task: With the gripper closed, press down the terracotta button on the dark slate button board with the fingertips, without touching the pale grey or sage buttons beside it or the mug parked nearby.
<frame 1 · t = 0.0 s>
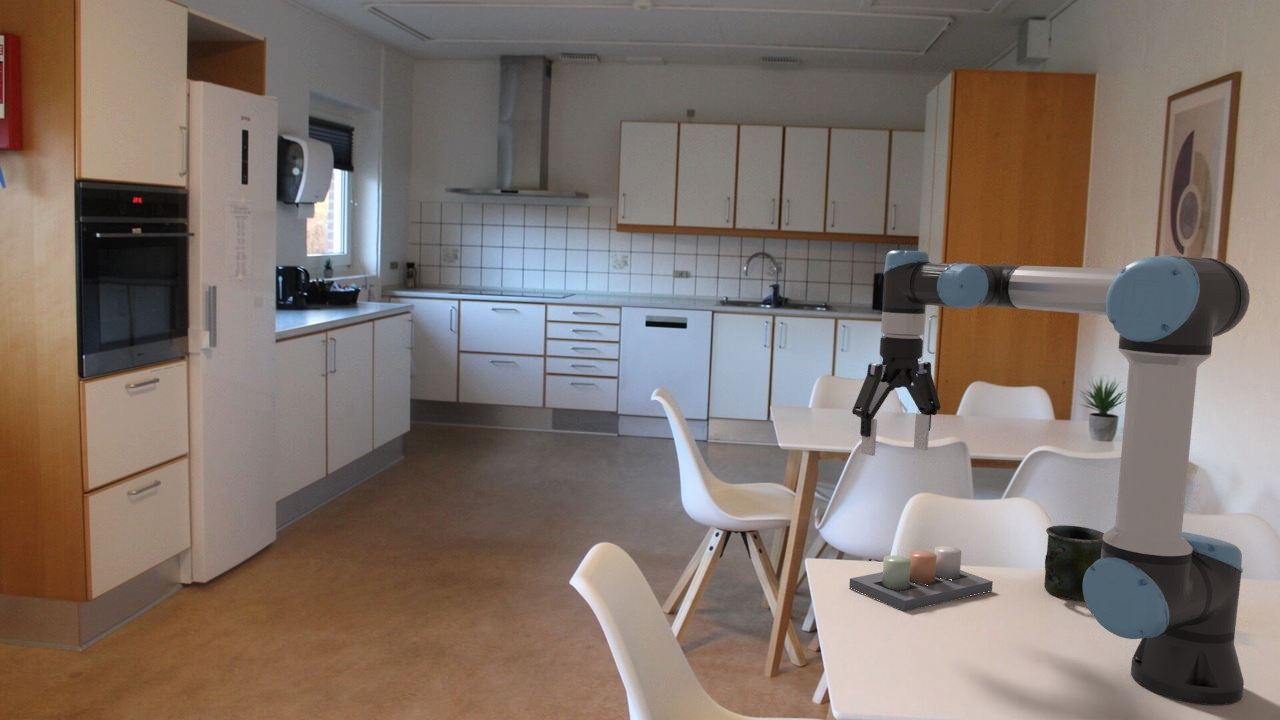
hand: (894, 451, 187), 28 cm above the table, fingers open, 13 cm apart
sage button: (896, 572, 192), point 4 cm above the table, slide at 0.0 cm
terracotta button: (922, 567, 196), point 5 cm above the table, slide at 0.0 cm
button board: (920, 590, 196), on the table
mug: (1067, 595, 197), on the table
grey button: (947, 562, 199), point 5 cm above the table, slide at 0.0 cm
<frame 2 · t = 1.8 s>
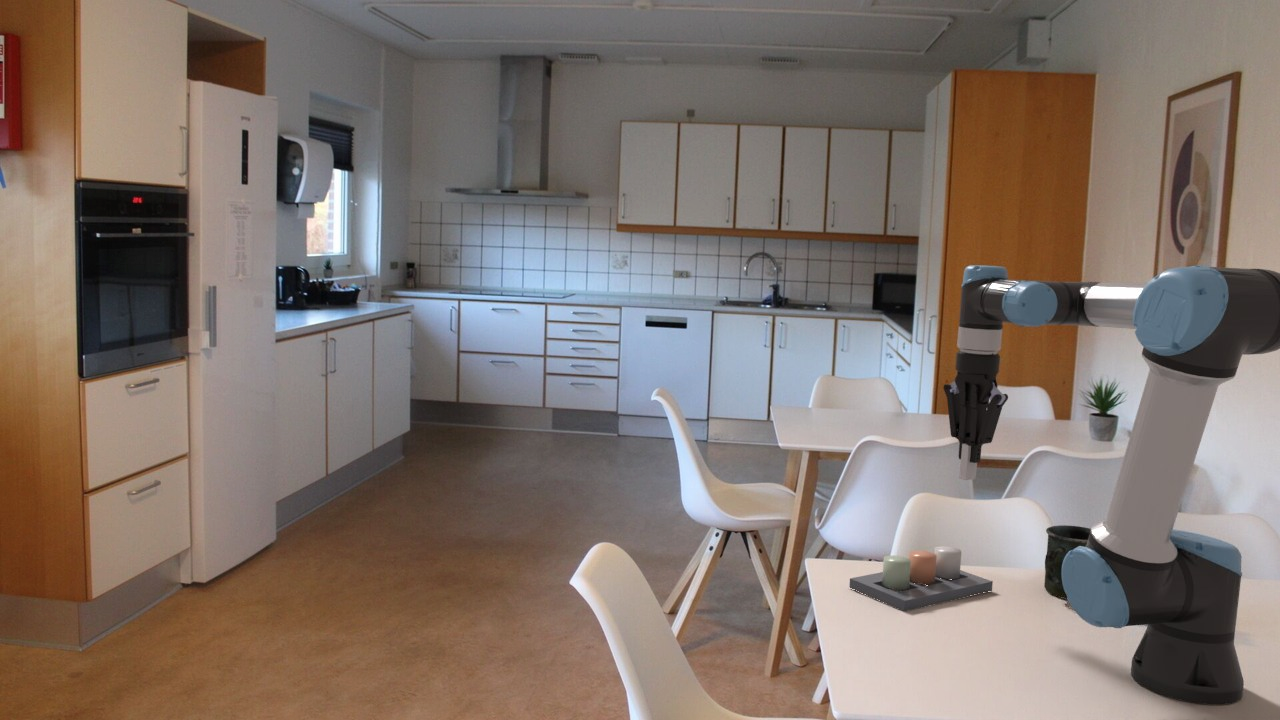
hand: (967, 478, 187), 24 cm above the table, fingers closed
nothing on the table moved.
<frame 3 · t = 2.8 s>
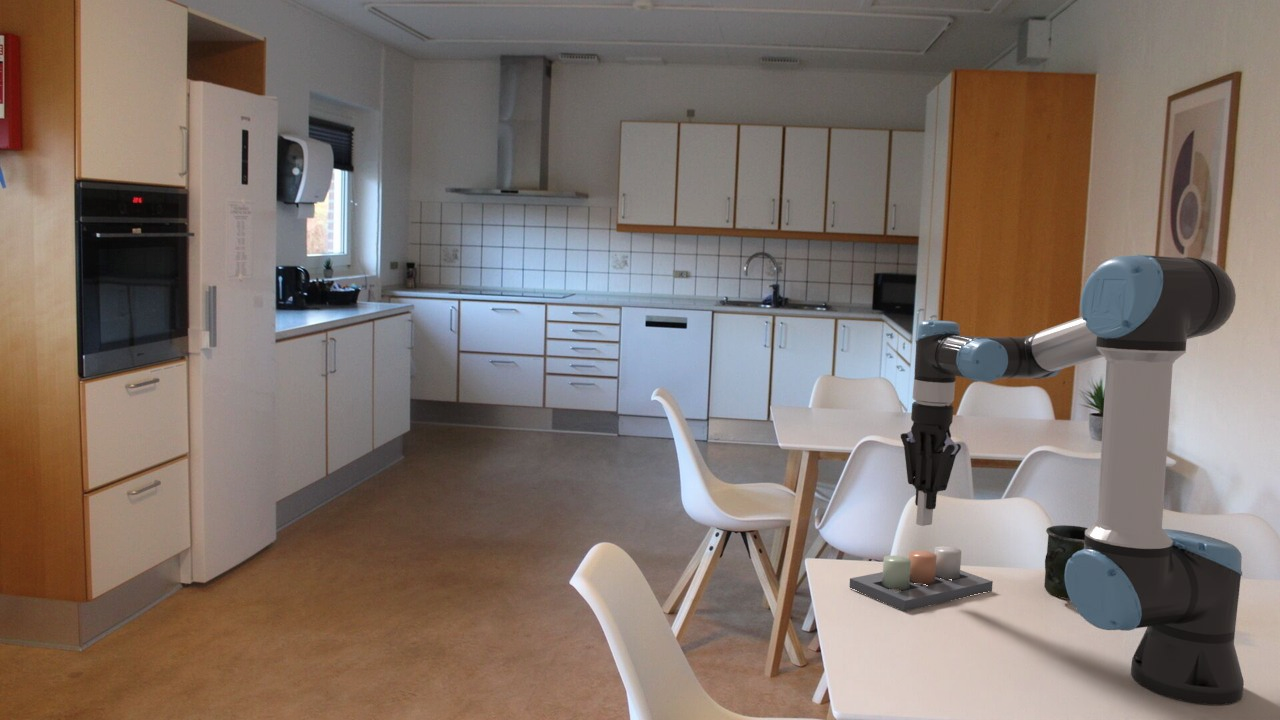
hand: (924, 524, 195), 13 cm above the table, fingers closed
nothing on the table moved.
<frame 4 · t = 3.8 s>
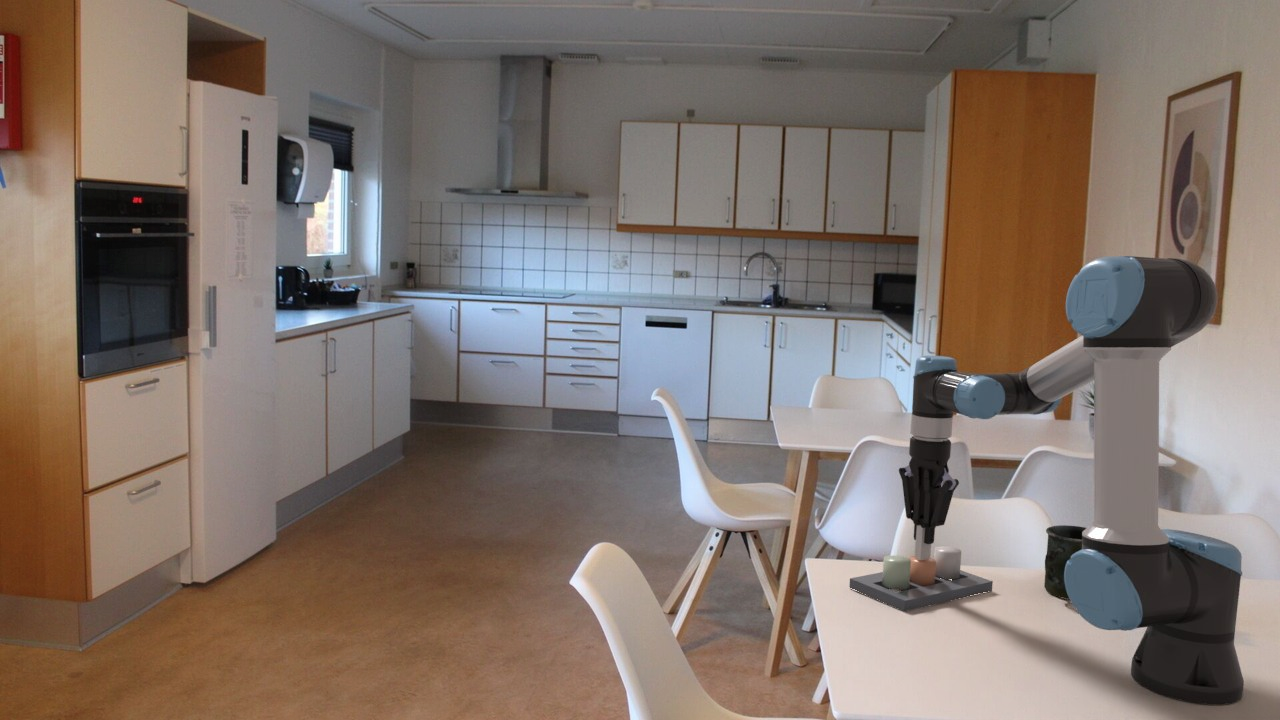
hand: (922, 558, 196), 6 cm above the table, fingers closed
terracotta button: (921, 572, 196), point 3 cm above the table, slide at 1.1 cm, touching gripper
everything else where it was.
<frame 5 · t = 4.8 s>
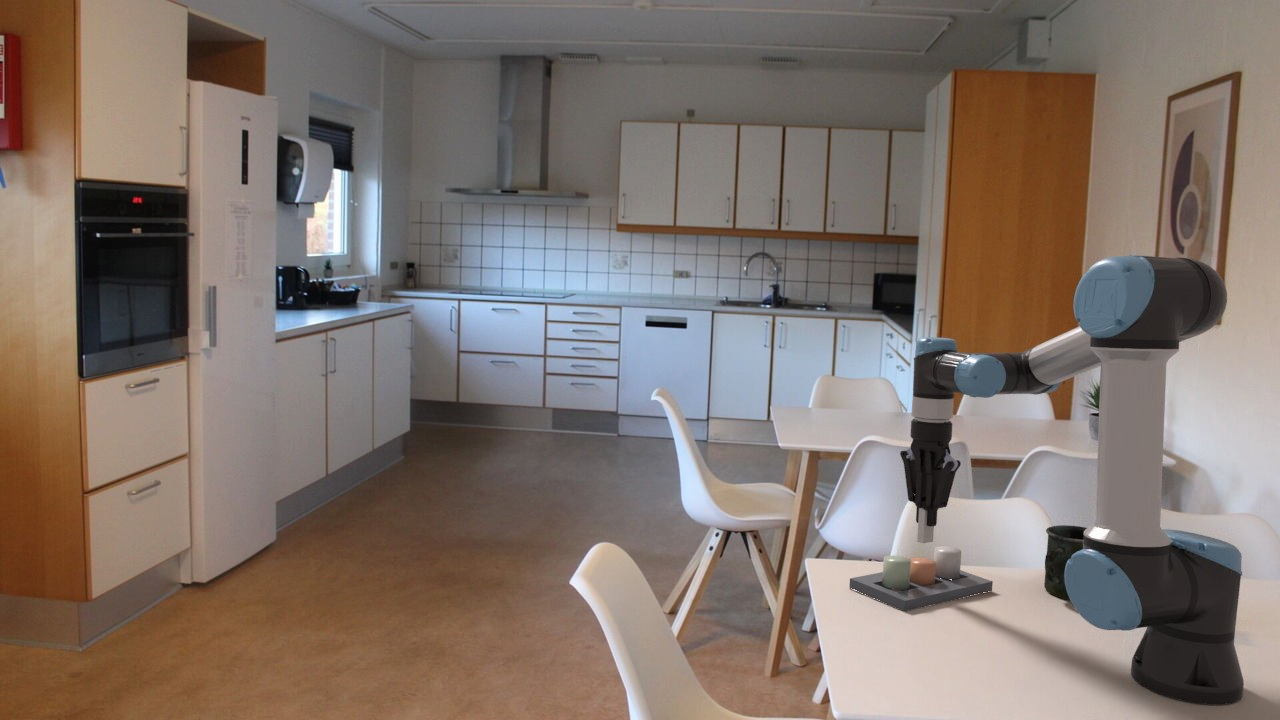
hand: (925, 541, 195), 10 cm above the table, fingers closed
terracotta button: (921, 574, 196), point 3 cm above the table, slide at 1.4 cm
everything else where it was.
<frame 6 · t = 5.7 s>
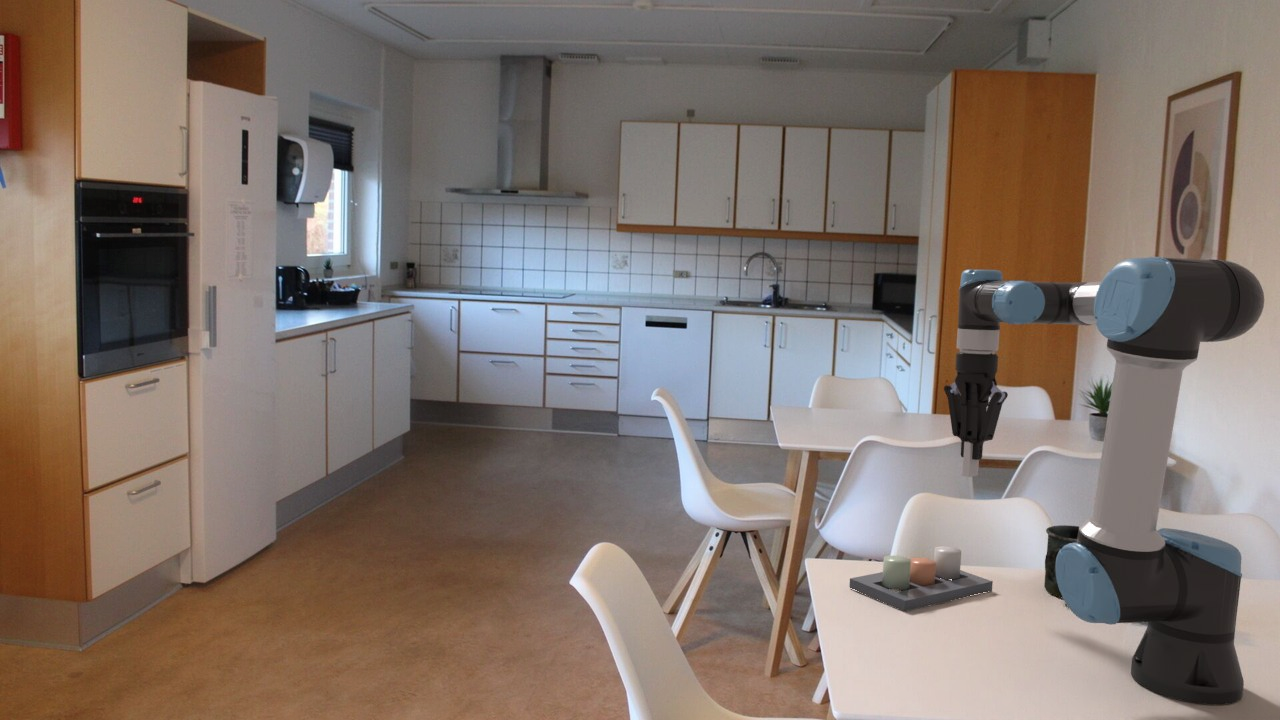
hand: (970, 475, 194), 23 cm above the table, fingers closed
nothing on the table moved.
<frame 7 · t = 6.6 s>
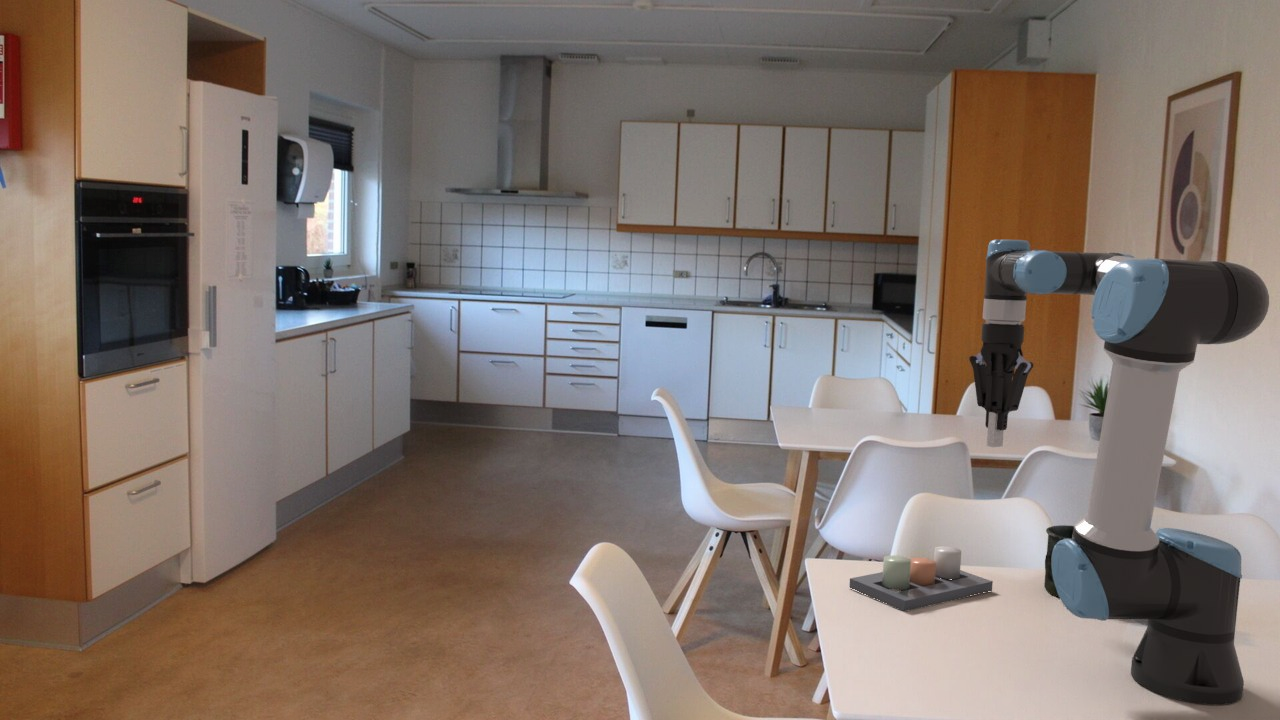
hand: (994, 445, 194), 28 cm above the table, fingers closed
nothing on the table moved.
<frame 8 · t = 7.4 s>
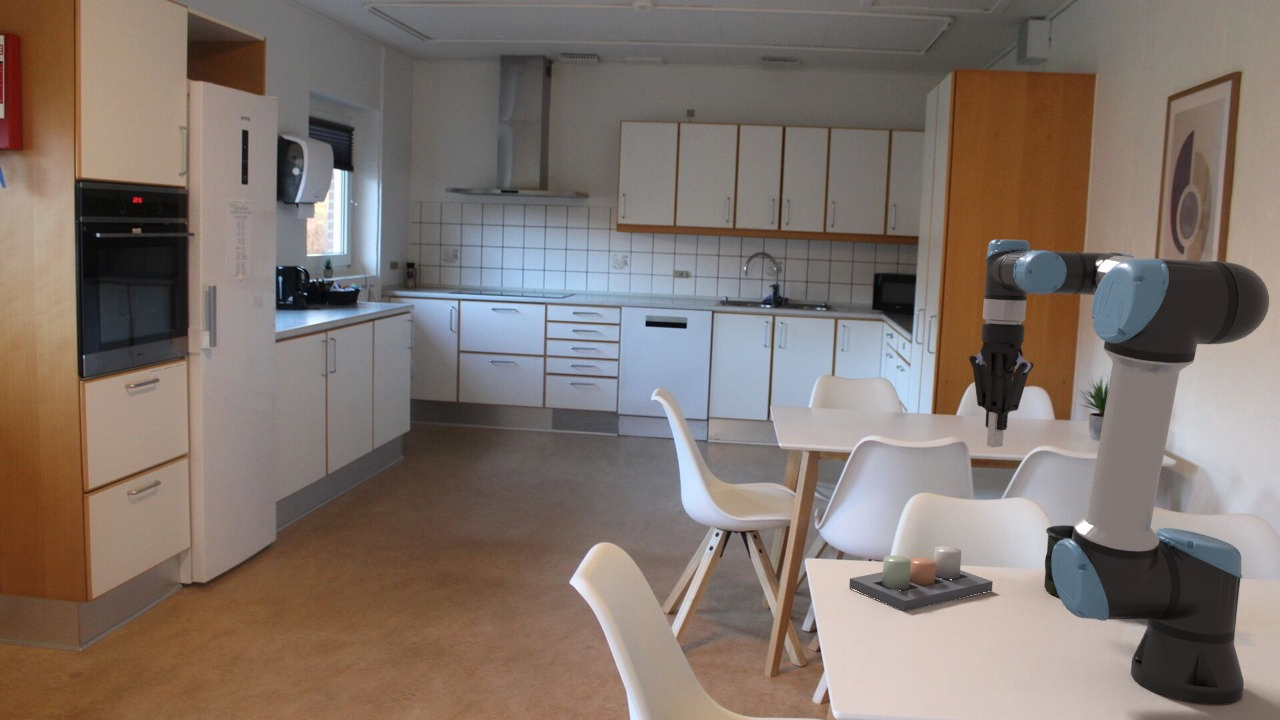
hand: (994, 445, 194), 28 cm above the table, fingers closed
nothing on the table moved.
at the end: terracotta button slide at 1.4 cm; grey button slide at 0.0 cm; sage button slide at 0.0 cm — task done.
